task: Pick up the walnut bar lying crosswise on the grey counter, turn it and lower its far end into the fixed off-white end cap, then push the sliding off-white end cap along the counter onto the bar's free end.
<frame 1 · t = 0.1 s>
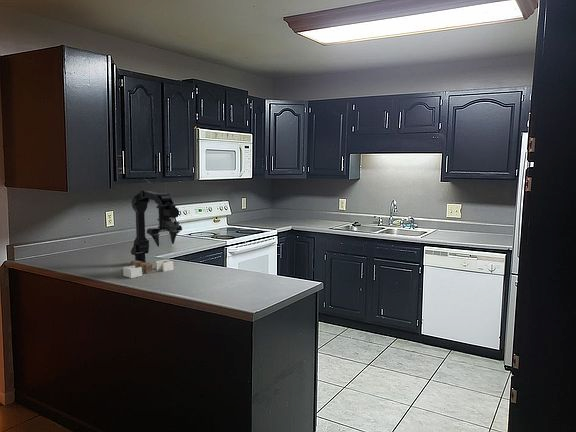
hand: (165, 245, 253), 14 cm above the countertop, fingers open, 9 cm apart
cap a: (164, 269, 258), on the countertop
slat: (141, 271, 256), on the countertop
cap b: (132, 271, 244), point 2 cm above the countertop, slide at 5.5 cm
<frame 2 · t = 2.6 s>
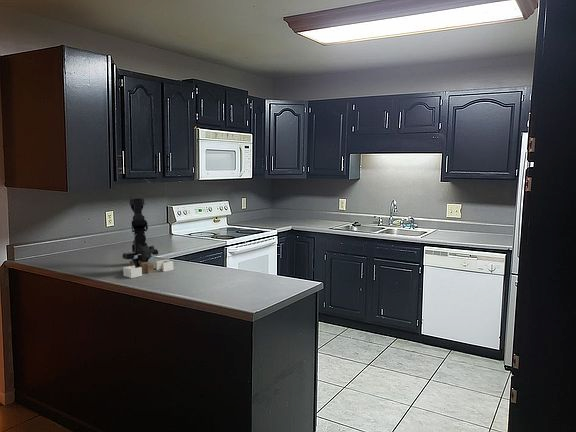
hand: (141, 269, 255), 1 cm above the countertop, fingers closed on slat, 4 cm apart
slat: (141, 271, 256), on the countertop, touching gripper
everything else where it was.
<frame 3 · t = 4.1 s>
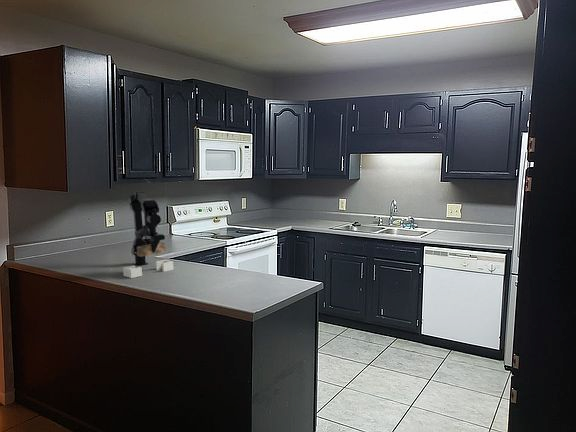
hand: (151, 251, 252), 11 cm above the countertop, fingers closed on slat, 4 cm apart
slat: (151, 253, 252), point 10 cm above the countertop, touching gripper
everything else where it was.
when the fingers open (2 cm above the countertop, at t = 6.0 s): slat drops 1 cm, on the countertop.
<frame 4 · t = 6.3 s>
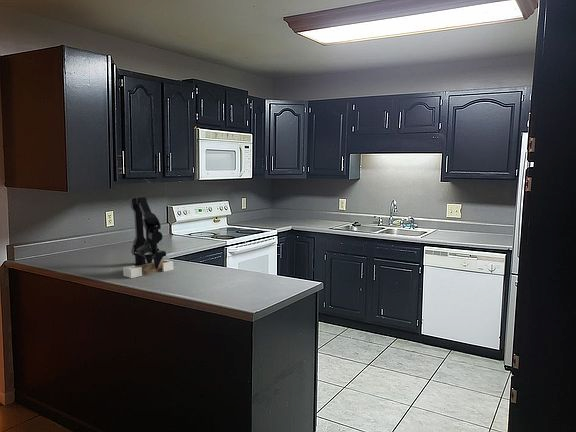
hand: (153, 267, 253), 2 cm above the countertop, fingers open, 6 cm apart
slat: (153, 272, 253), on the countertop
everything else where it was.
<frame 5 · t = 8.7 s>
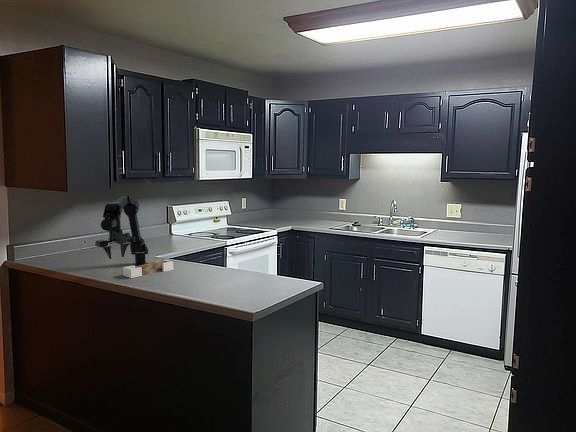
hand: (116, 258, 237), 11 cm above the countertop, fingers open, 6 cm apart
nothing on the countertop moved.
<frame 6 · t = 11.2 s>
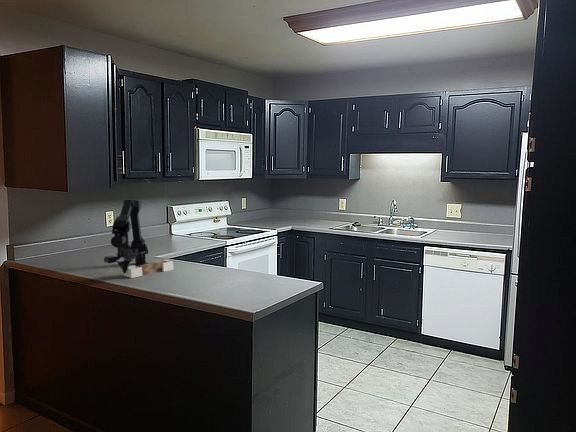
hand: (124, 273, 241), 2 cm above the countertop, fingers closed
cap b: (133, 271, 244), point 2 cm above the countertop, slide at 5.3 cm, touching gripper
everything else where it was.
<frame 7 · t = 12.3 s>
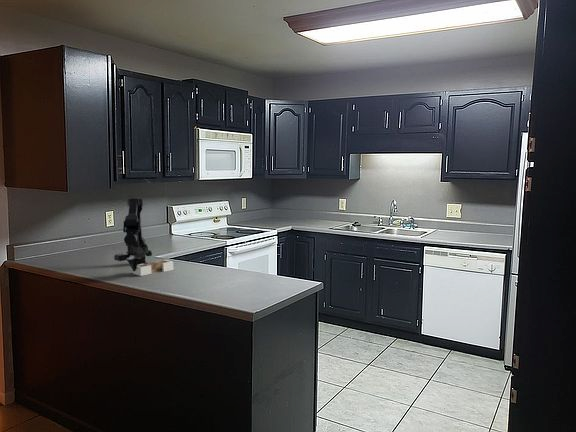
hand: (134, 271, 245), 2 cm above the countertop, fingers closed
cap b: (142, 269, 248), point 2 cm above the countertop, slide at 0.0 cm, touching gripper
everything else where it was.
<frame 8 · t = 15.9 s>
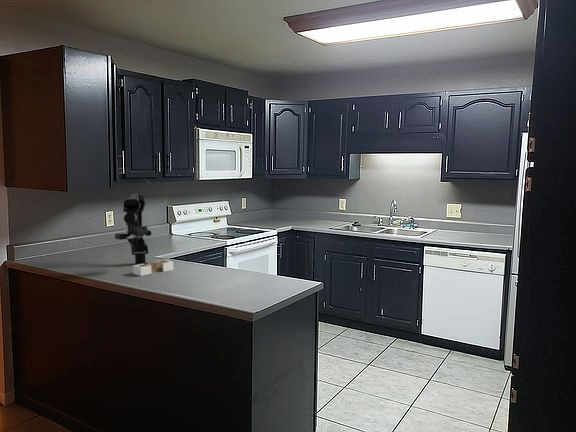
hand: (134, 250, 253), 12 cm above the countertop, fingers closed
cap b: (142, 269, 248), point 2 cm above the countertop, slide at 0.0 cm
everything else where it was.
at the end: cap b slide at 0.0 cm; slat 0.3 cm from the target spot, on the countertop; slat tilted 0° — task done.
